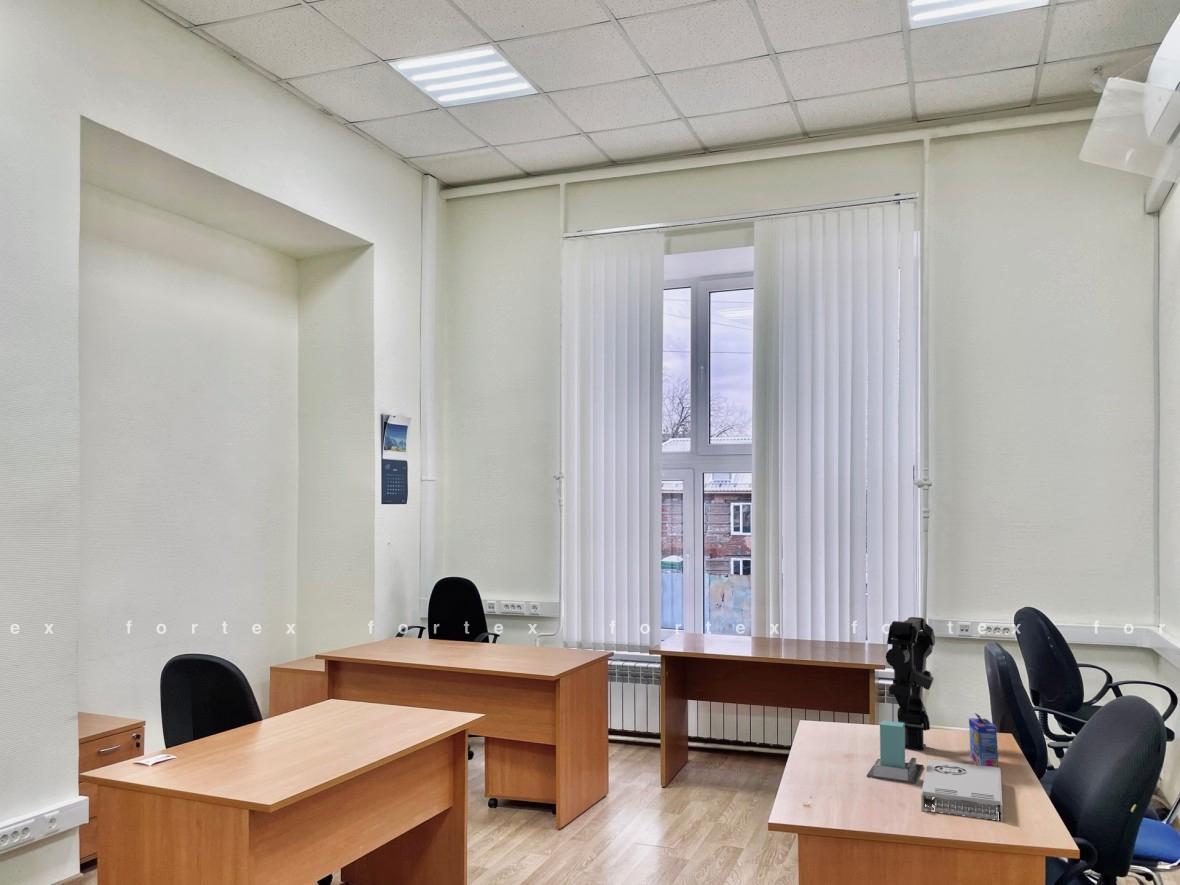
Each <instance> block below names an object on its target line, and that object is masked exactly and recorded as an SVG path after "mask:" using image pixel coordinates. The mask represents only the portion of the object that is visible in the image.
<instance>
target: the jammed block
mask: <svg viewBox="0 0 1180 885" xmlns="http://www.w3.org/2000/svg"><path fill="white" fill-rule="evenodd" d="M879 751H880V753H879V755H880V756H879V757H880V758H879V759H880V765H884V766H892V767H899V768H905V762H906V748H905V723H900V722H898V721H889V720H882V721H881V723H879Z"/></svg>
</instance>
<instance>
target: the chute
mask: <svg viewBox="0 0 1180 885" xmlns="http://www.w3.org/2000/svg"><path fill="white" fill-rule="evenodd" d="M922 770H924V764H918V763H917V758H916V757H911V758H910V760H909V761H908V762H906V761H905V768H899V767H892V766H884V765H880V758H877V760H876V761H875V762H874V764H873V766H872V767H871V768H870V770H869V771H868V773H867V774H866V778H871V777H872V779H878V780H885V779H886V780H885V781H893V782H898V783H899V782H900V783H907V784H913V785H915V784H916V782H917V780H918V779H919V776H920V775H921V773H922Z"/></svg>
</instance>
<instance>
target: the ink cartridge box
mask: <svg viewBox="0 0 1180 885" xmlns="http://www.w3.org/2000/svg"><path fill="white" fill-rule="evenodd" d="M974 715H975V716H976V717H977V718H975V717H974V718H971V717H970V718H969V717H968V725H969V726H968V727H969V747H970V748H969V750H970V759H971V760H972V761H973V762H974V763H975V762H976V763H975V764H976V765H979V766H988V767H997V768H1000V767H999V752H998V751H999V748H998V747H999V746H998V735H997V734H998V732H997V730H998V729H997V726H996V724H994V723H992V722H991V721H989V720H988V719H986V718H982V717H981V716H980V715H979V714H978V713H976V712H975V713H974Z"/></svg>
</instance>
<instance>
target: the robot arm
mask: <svg viewBox="0 0 1180 885" xmlns="http://www.w3.org/2000/svg"><path fill="white" fill-rule="evenodd" d="M886 644H887V645H891V648H890V649H888V650H887V651H886V653H885V661H886V662H887V664H888V665H889V666H890V667H892V670H893V679H892V684H890V686H889V687H888V694H889V695H893V696H894V699H895V700H896V703H897V704H898V706H899V707H898V708H897V712H896V713H897V722H900V723H905V749H908V750H916V751H924V750H925V749H926V747H927V744H925V743H924V739H925V738H924V732H926V731H930V730H931V725H930V719H929V716H928V712H927V711H926V709H927V708H926V707H925V704H924V703H923V700H922V697H923V689H924V690H928V691H929V690H930V689H931V687H932V684H933V681H934V677H933V676H932V674H931V671H929V670H927V669H926V665H927V659H928V657H929V656H930V655H931V654H932V652H933V648H934V646H936V636H935V632H934V628H932V626H930V624H928V623H927V622H926V618H924V617H919V616H918V617H916V616H915V617H914V616H911V617H908V618H907V619H906V620H904V621H896V620H893V621H891V623H890V624H889V628H888V634H887V641H886Z"/></svg>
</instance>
